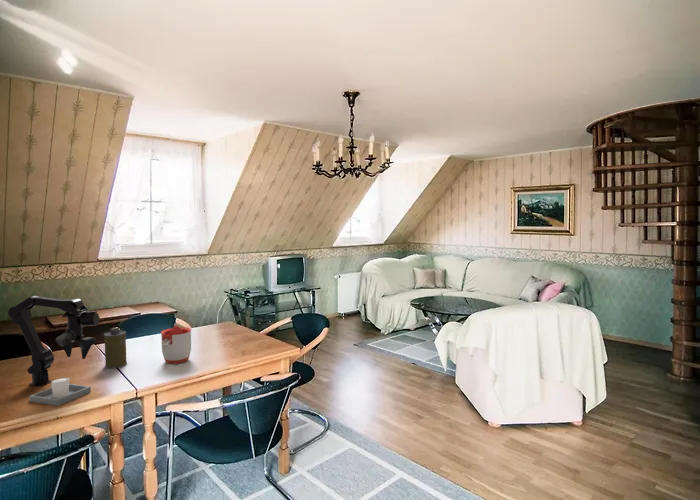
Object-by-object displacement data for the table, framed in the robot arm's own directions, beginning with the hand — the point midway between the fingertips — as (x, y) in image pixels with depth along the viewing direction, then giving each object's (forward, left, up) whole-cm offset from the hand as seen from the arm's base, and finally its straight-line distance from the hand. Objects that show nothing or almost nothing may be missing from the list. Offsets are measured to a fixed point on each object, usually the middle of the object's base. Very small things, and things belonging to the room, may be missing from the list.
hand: (76, 358), depth 209 cm
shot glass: (+8, -15, -12) cm, 21 cm away
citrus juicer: (+24, +40, -12) cm, 48 cm away
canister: (-3, +26, -12) cm, 29 cm away
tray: (+8, -15, -12) cm, 21 cm away
